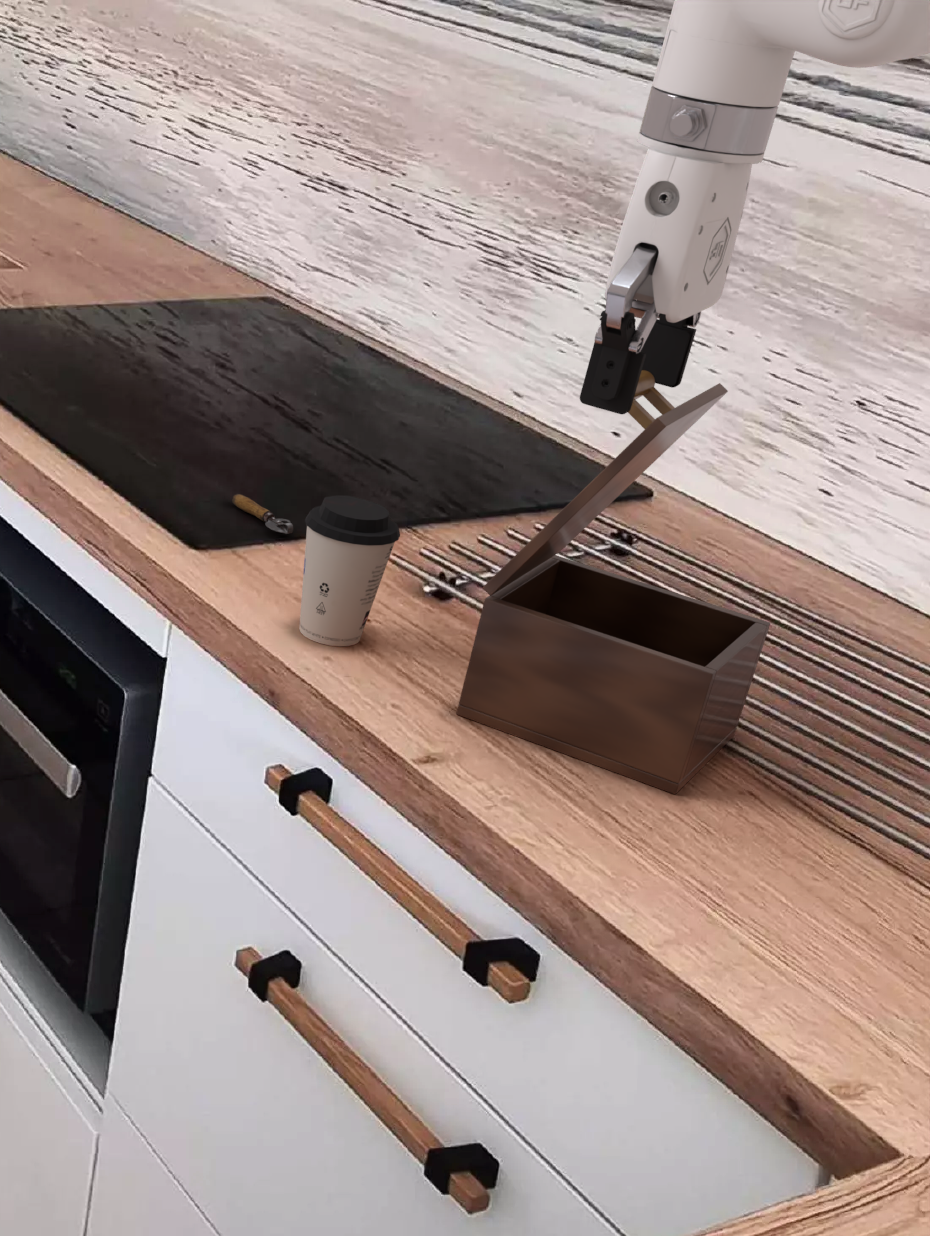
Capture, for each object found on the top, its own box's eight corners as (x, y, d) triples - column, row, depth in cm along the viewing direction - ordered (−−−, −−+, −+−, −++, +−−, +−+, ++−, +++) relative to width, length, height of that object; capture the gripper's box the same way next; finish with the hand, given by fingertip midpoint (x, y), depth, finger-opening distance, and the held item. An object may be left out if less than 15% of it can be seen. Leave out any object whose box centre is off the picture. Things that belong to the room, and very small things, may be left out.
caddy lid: (728, 391, 133) (677, 340, 134) (666, 426, 123) (611, 372, 124) (559, 552, 143) (512, 504, 144) (490, 596, 134) (441, 545, 135)
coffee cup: (395, 648, 148) (424, 522, 143) (319, 657, 145) (346, 528, 140) (339, 611, 153) (365, 488, 149) (265, 619, 150) (289, 494, 146)
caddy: (733, 736, 140) (770, 622, 136) (675, 794, 130) (713, 673, 126) (524, 664, 148) (553, 554, 143) (455, 714, 138) (484, 598, 134)
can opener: (229, 505, 173) (232, 492, 172) (253, 505, 174) (256, 492, 173) (277, 538, 165) (280, 524, 165) (302, 538, 166) (304, 525, 165)
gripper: (722, 151, 114) (640, 435, 122) (806, 128, 127) (727, 387, 135) (597, 125, 118) (525, 403, 126) (691, 105, 131) (620, 358, 139)
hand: (629, 394), depth 130 cm, fingers open, 9 cm apart
